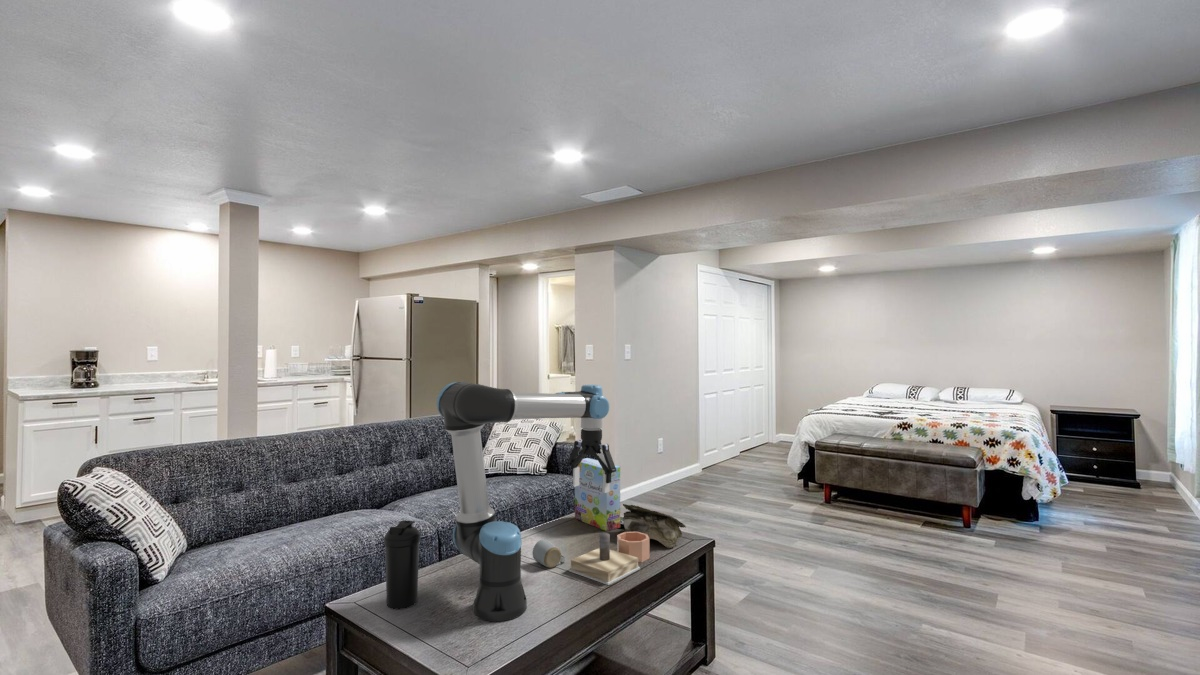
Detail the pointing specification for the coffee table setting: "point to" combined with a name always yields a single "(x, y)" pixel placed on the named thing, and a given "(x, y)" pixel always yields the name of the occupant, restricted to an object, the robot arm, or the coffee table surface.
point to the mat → (602, 580)
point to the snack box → (597, 496)
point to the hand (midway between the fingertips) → (590, 489)
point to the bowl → (634, 545)
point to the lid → (604, 562)
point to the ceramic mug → (547, 554)
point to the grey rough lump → (652, 524)
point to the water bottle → (402, 565)
